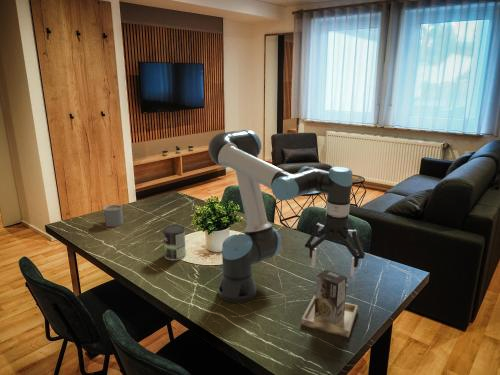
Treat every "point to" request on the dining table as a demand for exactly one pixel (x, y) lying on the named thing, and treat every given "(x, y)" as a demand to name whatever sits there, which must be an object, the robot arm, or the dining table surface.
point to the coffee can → (174, 242)
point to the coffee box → (330, 296)
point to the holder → (321, 324)
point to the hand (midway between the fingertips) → (332, 270)
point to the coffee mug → (113, 215)
